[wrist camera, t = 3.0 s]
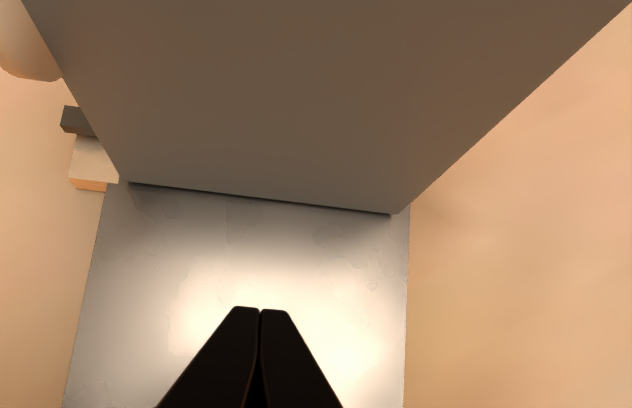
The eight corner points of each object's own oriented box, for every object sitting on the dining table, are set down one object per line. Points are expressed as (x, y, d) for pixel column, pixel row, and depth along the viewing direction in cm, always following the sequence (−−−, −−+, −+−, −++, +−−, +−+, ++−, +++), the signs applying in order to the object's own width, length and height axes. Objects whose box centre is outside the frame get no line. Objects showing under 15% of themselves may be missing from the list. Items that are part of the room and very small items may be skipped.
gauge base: (390, 463, 16) (400, 470, 15) (21, 437, 15) (5, 442, 14) (415, -133, 22) (424, -157, 21) (158, -184, 21) (155, -212, 20)
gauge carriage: (396, 237, 16) (686, 11, 6) (50, 196, 15) (-337, -170, 5) (404, 66, 18) (641, -344, 8) (92, 18, 17) (-131, -541, 7)
